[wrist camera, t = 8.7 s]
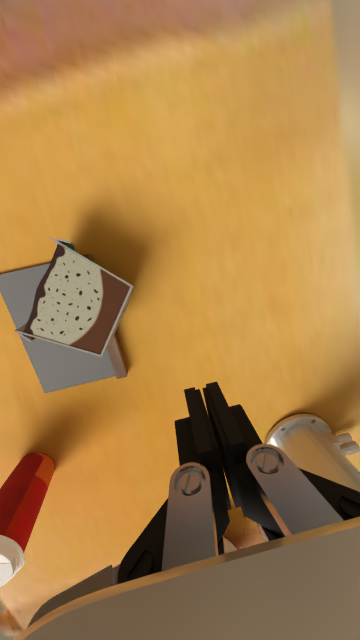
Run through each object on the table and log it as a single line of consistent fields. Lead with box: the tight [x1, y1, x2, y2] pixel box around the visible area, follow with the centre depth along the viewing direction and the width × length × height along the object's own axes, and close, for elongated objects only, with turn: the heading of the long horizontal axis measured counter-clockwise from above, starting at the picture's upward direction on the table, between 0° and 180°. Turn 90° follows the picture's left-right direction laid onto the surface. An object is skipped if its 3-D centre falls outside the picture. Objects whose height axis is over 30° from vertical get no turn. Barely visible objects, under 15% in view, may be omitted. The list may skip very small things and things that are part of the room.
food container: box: [15, 238, 134, 357], centre depth 31 cm, size 12×6×10 cm
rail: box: [83, 254, 128, 379], centre depth 34 cm, size 2×18×2 cm, turn 12°
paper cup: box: [0, 453, 55, 587], centre depth 34 cm, size 8×8×14 cm
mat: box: [0, 263, 116, 393], centre depth 35 cm, size 11×18×1 cm, turn 12°
